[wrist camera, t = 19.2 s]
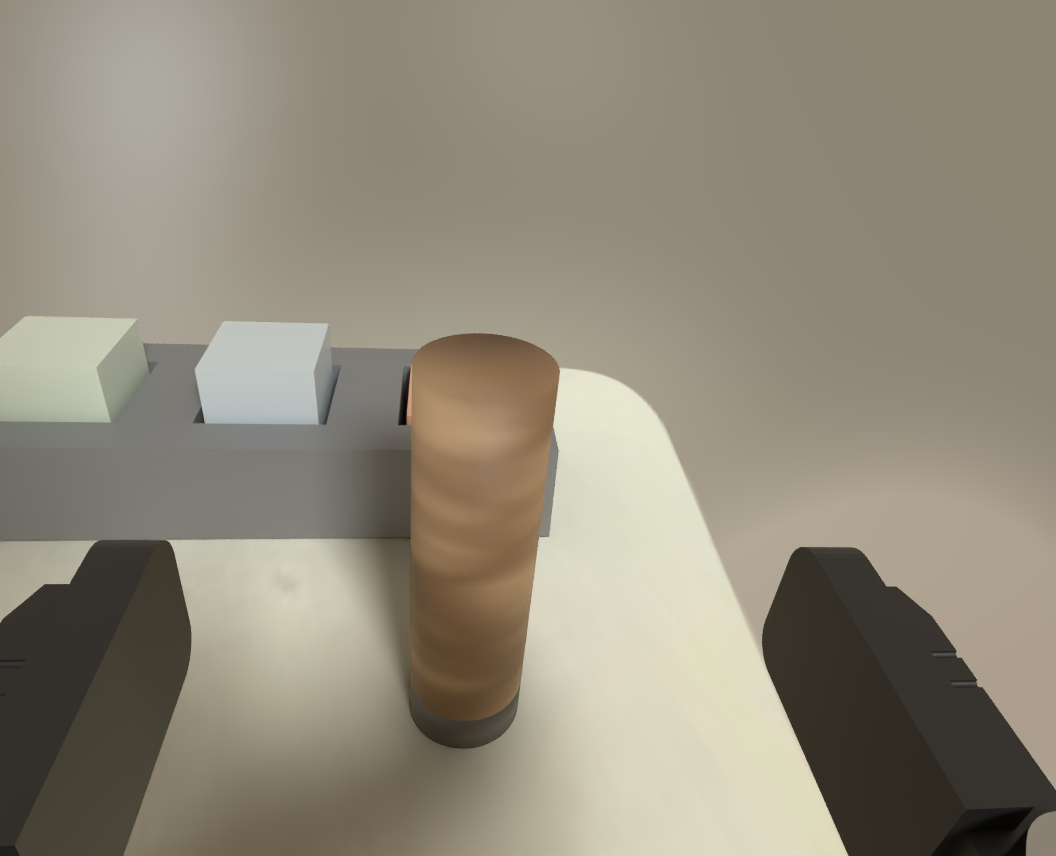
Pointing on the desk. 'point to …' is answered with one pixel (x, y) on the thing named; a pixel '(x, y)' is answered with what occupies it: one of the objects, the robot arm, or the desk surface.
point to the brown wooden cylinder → (475, 527)
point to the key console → (222, 463)
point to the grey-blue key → (267, 374)
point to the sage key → (70, 369)
